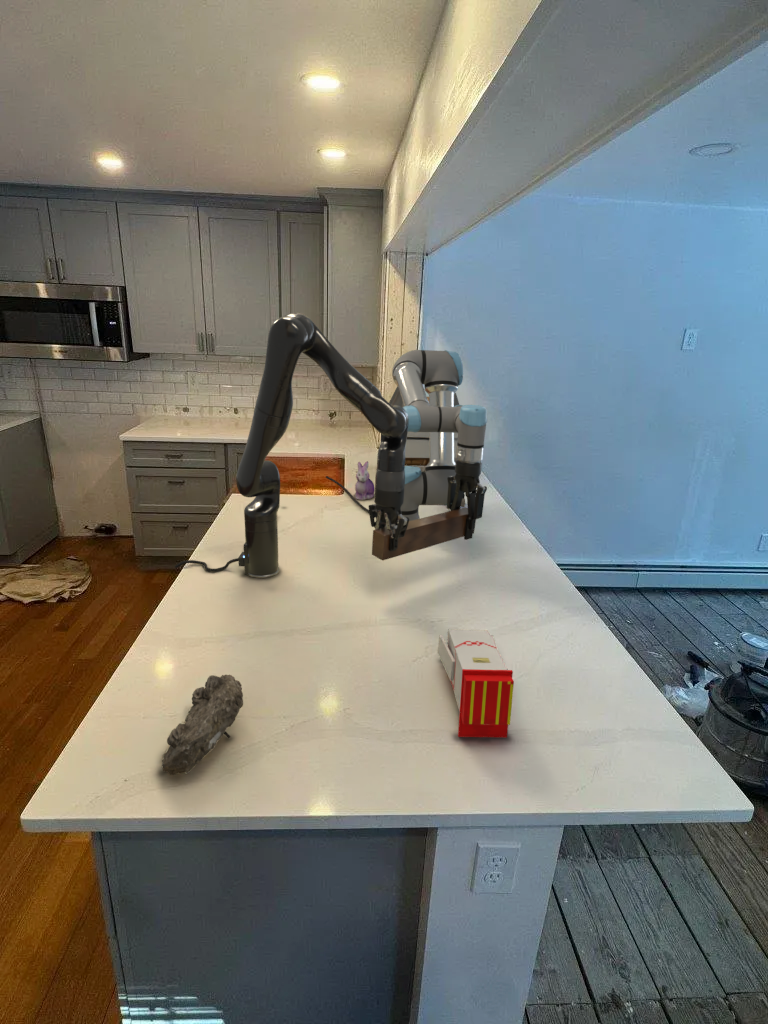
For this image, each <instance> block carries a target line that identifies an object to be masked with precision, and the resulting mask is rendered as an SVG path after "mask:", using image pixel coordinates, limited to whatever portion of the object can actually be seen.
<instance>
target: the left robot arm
mask: <svg viewBox="0 0 768 1024" xmlns="http://www.w3.org/2000/svg"><path fill="white" fill-rule="evenodd" d="M266 344H267V345H266V353H265V362H264V369H263V372H262V377H261V380H260V385H259V388H258V389H259V390H258V393H257V396H256V397H257V398H256V400H255V405H254V410H253V413H252V420H251V425H250V428H249V433H248V435H247V436H248V437H247V441H246V443H245V447H244V450H243V453H242V456H241V459H240V460H239V461H240V462H239V464H238V467H237V471H236V475H235V476H236V477H235V483H236V488H237V491H238V492H239V494H240V495H241V496H243V497H244V498H254V499H253V500H252V501H251V502H250V503H248V504H247V505H246V506H245V507H244V510H243V516H244V518H243V519H244V520H243V521H244V540H245V542H244V543H243V551H241V553H240V555H239V556H238V557H236V558H233V559H230V560H227V562H226V564H225V565H224V566H221V567H218V568H210V567H208V564H207V562H205V561H200V560H196V559H195V560H194V559H189V560H188V559H187V560H182V561H180V562H179V563H176V564H175V566H174V568H176V569H177V568H179V567H180V566H183V565H185V564H196V565H202V566H204V570H205V571H207V572H213V573H214V572H215V573H216V572H221V571H225V570H226V569H227V568H228V567H229V566H230V565H231V564H233V563H236V562H238V567H244V568H243V569H244V576H249V577H251V578H255V579H266V578H272V577H274V576H276V575H277V574H279V572H280V565H279V564H280V563H279V532H278V531H279V528H278V513H279V509H280V506H281V505H280V504H281V503H280V502H281V501H280V500H281V475H280V472H279V468H278V467H277V465H276V464H275V463H274V461H272V460H268V459H267V456H268V455H269V454H270V452H271V451H272V449H273V448H274V447H275V446H276V445H277V444H278V442H279V441H281V439H282V438H283V436H284V435H285V433H286V432H287V430H288V427H289V424H290V420H291V416H292V413H293V408H294V394H293V385H292V384H293V383H292V382H293V377H294V374H295V370H296V367H297V364H298V361H299V358H300V356H301V355H302V354H304V355H305V356H307V357H308V358H309V359H311V360H312V361H313V362H315V363H316V364H317V365H318V366H319V367H320V369H321V370H322V371H323V372H324V374H325V375H326V376H327V378H328V380H329V381H330V383H331V385H333V387H334V389H335V390H336V391H337V392H338V393H339V395H341V397H343V398H344V399H345V400H346V401H347V402H348V403H349V404H351V406H352V407H354V408H355V409H356V410H357V411H359V412H360V413H361V414H362V415H363V416H364V417H365V419H366V420H367V421H368V422H369V424H371V426H372V427H373V429H375V430H376V431H377V433H380V443H379V447H378V450H377V458H376V459H377V460H376V472H375V482H374V488H375V491H374V503H372V504H369V505H368V510H369V513H368V514H369V520H370V521H369V522H370V527H372V528H374V530H376V529H380V528H384V527H385V526H386V524H387V529H388V530H389V533H390V539H389V551H391V552H392V551H395V550H397V548H398V538H401V537H404V536H405V533H406V530H407V526H408V523H409V518H408V517H406V518H405V517H404V516H402V512H401V506H402V504H403V502H404V487H405V466H406V465H405V446H406V440H407V433H408V424H409V418H408V414H407V412H406V411H405V409H403V408H402V407H400V406H397V405H393V406H392V405H391V404H389V401H387V400H386V399H385V398H384V397H383V395H382V392H381V391H380V390H379V388H378V387H376V385H374V384H373V383H372V381H370V380H369V379H367V378H366V377H365V376H364V375H363V374H362V373H361V372H360V371H358V369H356V367H354V366H353V365H352V364H351V363H350V362H349V361H348V360H347V359H346V358H345V357H344V356H343V355H342V354H341V353H340V352H339V351H338V349H337V348H336V347H335V346H334V345H333V344H332V343H331V341H330V340H328V338H327V337H326V336H325V334H324V333H323V332H322V330H321V329H320V328H319V327H318V326H317V325H316V324H315V322H313V320H312V319H311V318H310V317H309V316H308V315H306V314H304V313H302V312H291V313H288V314H285V315H283V316H280V317H279V318H277V319H276V320H275V321H273V323H272V324H271V326H270V328H269V330H268V336H267V343H266ZM266 459H267V460H266ZM392 524H395V525H394V526H391V525H392ZM394 529H395V533H394V531H393V530H394ZM400 532H401V533H400Z"/></svg>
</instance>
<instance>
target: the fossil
mask: <svg viewBox="0 0 768 1024" xmlns="http://www.w3.org/2000/svg"><path fill="white" fill-rule="evenodd" d="M243 696H244V694H243V687H242V684H241V682H240V680H237V679H236V678H235V677H234V676H233V675H232V674H222V675H221V676H217V675H209V676H208V677H207V678H206V681H205V684H204V686H201V687H197V688H195V690H193V693H192V697H191V704H192V705H191V707H190V709H189V710H188V713H187V715H186V716H185V719H184V723H178V724H177V726H176V727H175V728H173V729H172V730H171V731H170V734H169V735H168V737H167V738H166V743H167V745H168V748H167V750H166V752H165V753H163V755H162V757H163V759H161V766H162V771H163V773H168V774H169V775H170V776H174V775H178V774H183V773H185V774H189V773H190V772H191V771H192V770H193V769H194V767H196V766H197V765H198V764H199V763H200V762H202V760H203V759H204V758H205V757H206V756H207V755H208V754H209V753H210V752H211V751H213V750H214V749H215V747H216V746H217V743H218V741H220V740H221V739H222V737H223V736H225V737H226V738H228V739H230V738H231V735H230V734H229V733H228V732H227V729H228V728H231V727H232V725H233V724H234V723H235V722H236V719H237V717H238V714H239V713H240V710H241V709H242V708H243V707H244V699H243V698H244V697H243Z"/></svg>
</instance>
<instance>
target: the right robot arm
mask: <svg viewBox="0 0 768 1024" xmlns="http://www.w3.org/2000/svg"><path fill="white" fill-rule="evenodd" d="M463 364H464V363H463V360H462V357H461V355H460V354H459V352H457V351H450V350H446V349H444V350H428V349H427V350H426V349H413V350H410V351H407V352H405V353H403V354H401V356H399V357H398V358H397V359H396V361H395V362H394V364H393V367H392V371H391V374H392V379H393V383H394V384H395V385H396V387H397V386H398V387H399V390H400V393H401V396H402V400H403V403H404V407H403V409H405V411H406V412H407V414H408V418H409V424H408V431H409V432H429V455H430V462H429V463H428V464H427V466H424V467H425V468H424V469H425V470H424V471H422V469H421V467H420V466H407V465H405V487H404V502H403V504H402V506H401V512H402V516H404V517H405V518H406V517H408V518H409V521H412V520H416V519H420V515H419V507H420V506H446V509H448V510H449V511H453V510H457V509H461V502H462V499H463V496H464V494H465V498H466V503H467V504H466V505H467V508H468V518H467V519H466V526H465V536H464V537H463V540H465V541H468V540H471V539H473V535H474V534H473V529H474V530H475V529H476V521H477V520H478V519H479V520H480V519H482V518H483V513H484V503H485V495H486V492H487V490H488V487H487V486H486V485H484V486H483V485H482V483H481V481H480V476H481V474H482V466H483V462H482V461H483V459H484V448H485V447H484V446H485V439H486V438H485V437H486V430H487V423H488V409H487V408H486V407H485V406H483V405H479V404H459V405H456V406H454V393H457V391H458V390H459V386H461V385H462V383H463V381H464V365H463ZM427 394H428V395H427ZM427 397H429V402H428V399H427ZM454 433H458V442H457V453H456V458H457V460H456V463H455V462H454ZM325 479H327V480H329V481H330V482H333V483H334V484H336V485H337V486H339V487H340V488H341V489H342V490H343V491H345V493H346V494H347V495H348V496H349V497H350V499H352V500H353V502H355V504H356V505H358V506H359V507H360V509H362V510H363V511H365V512H366V513H368V514H369V508H366V507H365V506H364V505H362V504H361V503H360V502H359V501H358V499H356V497H355V496H354V495H352V493H351V492H350V491H349V490H348V489H347V488H346V487H345V486H344V485H342V484H341V483H340V482H338V481H337V480H335V479H333V478H332V477H330V476H328V475H326V476H325ZM392 525H395V524H392ZM392 525H391V526H392ZM385 527H387V524H386V526H385Z"/></svg>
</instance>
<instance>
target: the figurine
mask: <svg viewBox="0 0 768 1024" xmlns="http://www.w3.org/2000/svg"><path fill="white" fill-rule="evenodd" d="M368 468H369V460H367V461H365V463H364V464H363V465H362V462H360V461H358V462H357V472H356V474H355V478H356V480H357V481H356V483H355V488H354V489H355V493H354V498H355V499H356V500H361V501H362V500H363V501H364V500H370V499H372V498H374V497H375V483H374V482H373V481H372V479H370V473H369V471H368Z"/></svg>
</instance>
